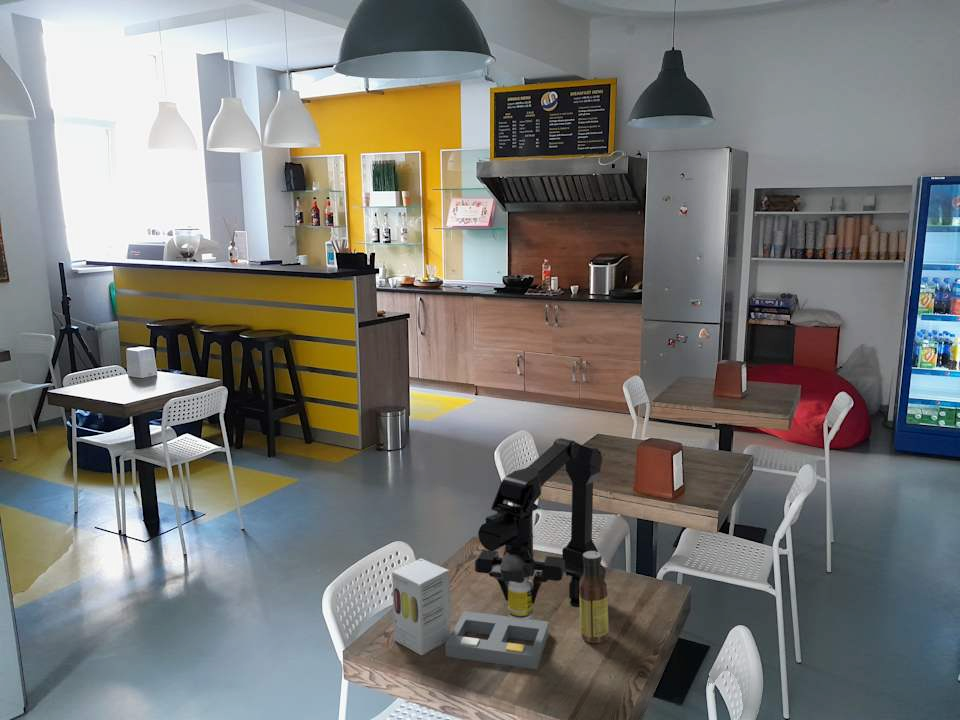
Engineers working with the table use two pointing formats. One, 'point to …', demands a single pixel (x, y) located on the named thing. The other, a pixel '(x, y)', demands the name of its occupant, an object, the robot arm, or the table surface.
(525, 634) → the socket board
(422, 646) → the supplement box
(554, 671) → the table surface
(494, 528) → the robot arm
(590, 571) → the sauce bottle
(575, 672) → the table surface
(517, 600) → the supplement bottle
